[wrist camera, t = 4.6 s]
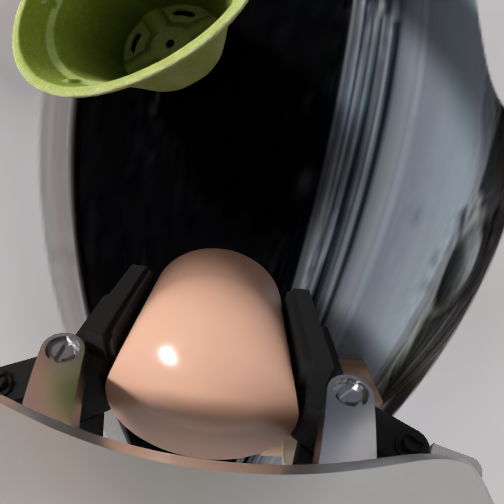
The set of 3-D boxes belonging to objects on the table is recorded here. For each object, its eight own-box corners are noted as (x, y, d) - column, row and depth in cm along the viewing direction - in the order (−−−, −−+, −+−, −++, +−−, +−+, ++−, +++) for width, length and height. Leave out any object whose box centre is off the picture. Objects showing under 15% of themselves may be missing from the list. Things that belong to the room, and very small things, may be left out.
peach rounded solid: (155, 238, 10) (89, 327, 5) (293, 259, 10) (325, 363, 5) (155, 344, 12) (121, 441, 7) (267, 361, 12) (274, 464, 7)
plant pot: (127, -14, 11) (69, -79, 3) (270, -5, 12) (287, -94, 4) (86, 111, 14) (-13, 101, 6) (232, 130, 15) (217, 111, 7)
